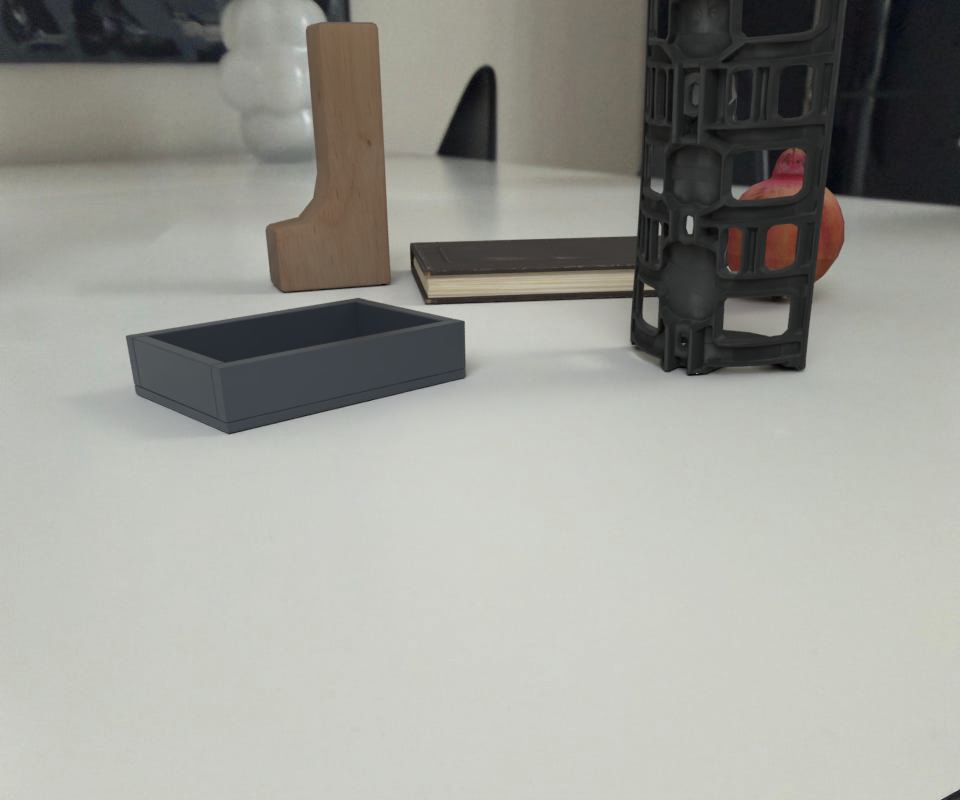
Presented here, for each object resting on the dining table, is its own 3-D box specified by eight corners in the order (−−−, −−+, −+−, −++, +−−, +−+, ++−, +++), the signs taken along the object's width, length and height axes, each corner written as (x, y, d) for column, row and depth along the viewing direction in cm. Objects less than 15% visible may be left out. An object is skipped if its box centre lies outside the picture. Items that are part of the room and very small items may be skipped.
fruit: (705, 291, 76) (719, 145, 72) (809, 289, 77) (829, 143, 72) (736, 312, 69) (753, 151, 64) (850, 309, 70) (876, 149, 65)
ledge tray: (135, 393, 52) (125, 335, 51) (361, 348, 61) (358, 297, 59) (228, 434, 46) (219, 368, 45) (466, 377, 55) (465, 320, 53)
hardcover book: (729, 293, 75) (732, 261, 74) (425, 304, 73) (423, 271, 72) (668, 261, 89) (670, 234, 88) (410, 269, 87) (409, 241, 86)
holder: (827, 351, 57) (878, -75, 46) (790, 395, 52) (836, -73, 41) (647, 334, 63) (654, -53, 52) (596, 373, 57) (591, -49, 46)
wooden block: (280, 293, 78) (253, 20, 69) (270, 284, 81) (242, 24, 73) (392, 285, 80) (379, 22, 72) (377, 276, 84) (363, 25, 75)
